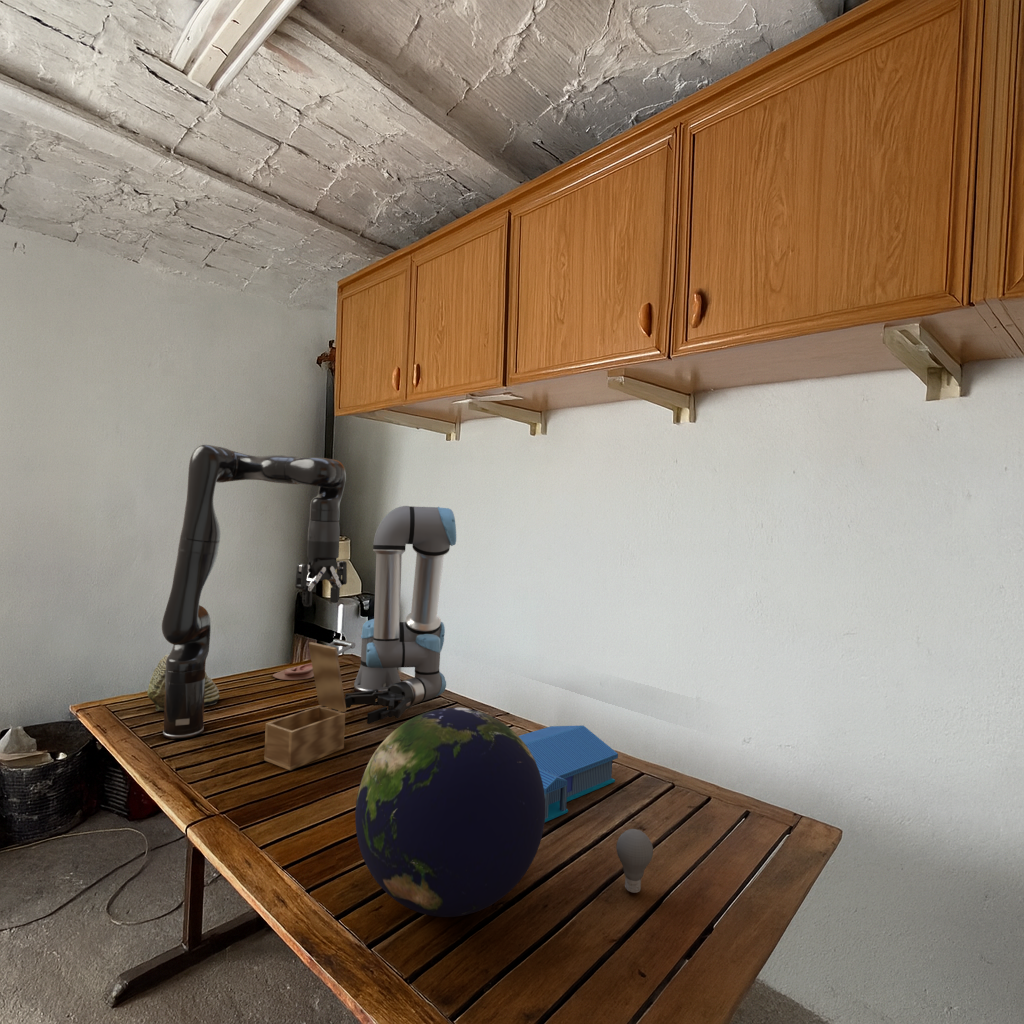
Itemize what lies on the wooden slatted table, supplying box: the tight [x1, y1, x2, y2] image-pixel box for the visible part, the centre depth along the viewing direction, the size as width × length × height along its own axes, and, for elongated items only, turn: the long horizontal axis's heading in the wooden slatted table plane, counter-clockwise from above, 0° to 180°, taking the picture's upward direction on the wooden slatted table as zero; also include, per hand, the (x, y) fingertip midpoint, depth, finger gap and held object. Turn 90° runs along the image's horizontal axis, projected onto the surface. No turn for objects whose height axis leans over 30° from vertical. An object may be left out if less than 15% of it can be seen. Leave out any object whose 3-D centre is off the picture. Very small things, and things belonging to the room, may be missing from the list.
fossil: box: [147, 654, 221, 712], centre depth 185 cm, size 9×18×15 cm, turn 132°
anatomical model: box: [272, 662, 314, 681], centre depth 220 cm, size 13×4×12 cm
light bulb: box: [615, 828, 654, 894], centre depth 106 cm, size 6×6×10 cm
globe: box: [354, 707, 546, 918], centre depth 101 cm, size 30×30×30 cm
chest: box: [263, 705, 346, 771], centre depth 155 cm, size 16×9×9 cm, turn 148°
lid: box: [307, 638, 356, 713], centre depth 163 cm, size 17×9×8 cm
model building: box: [518, 725, 619, 823], centre depth 140 cm, size 39×24×10 cm, turn 132°
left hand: (321, 604), depth 157 cm, fingers open, 8 cm apart
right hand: (349, 712), depth 167 cm, fingers open, 13 cm apart
